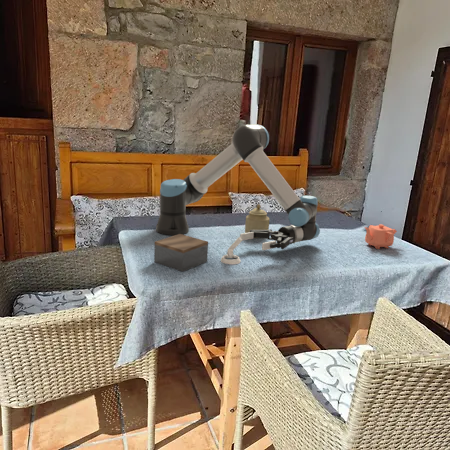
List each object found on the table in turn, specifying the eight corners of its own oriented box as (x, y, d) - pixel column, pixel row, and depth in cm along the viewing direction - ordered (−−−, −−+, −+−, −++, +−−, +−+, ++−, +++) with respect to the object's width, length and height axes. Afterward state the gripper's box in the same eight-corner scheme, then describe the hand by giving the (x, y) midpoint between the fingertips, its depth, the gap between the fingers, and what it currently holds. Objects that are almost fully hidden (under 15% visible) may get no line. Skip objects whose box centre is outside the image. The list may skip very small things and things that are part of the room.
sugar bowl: (235, 230, 202) (237, 200, 198) (254, 228, 208) (256, 198, 204) (253, 239, 190) (255, 207, 186) (272, 236, 196) (275, 205, 192)
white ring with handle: (254, 252, 157) (240, 243, 154) (234, 274, 160) (219, 265, 158) (251, 242, 163) (238, 233, 161) (232, 263, 167) (218, 254, 164)
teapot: (368, 240, 199) (371, 219, 196) (394, 245, 193) (398, 223, 190) (361, 247, 187) (364, 225, 184) (389, 253, 181) (392, 230, 178)
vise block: (154, 262, 156) (154, 241, 154) (179, 253, 167) (179, 233, 165) (182, 271, 148) (183, 250, 146) (207, 261, 160) (208, 241, 157)
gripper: (311, 251, 170) (272, 260, 157) (269, 235, 189) (231, 242, 176) (312, 233, 168) (273, 241, 155) (270, 219, 187) (232, 225, 174)
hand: (251, 241), depth 166 cm, fingers open, 13 cm apart
